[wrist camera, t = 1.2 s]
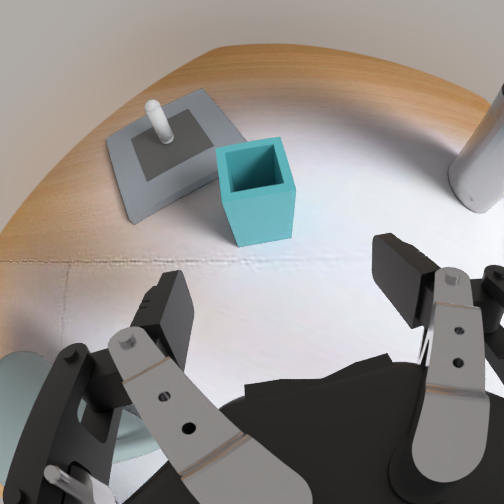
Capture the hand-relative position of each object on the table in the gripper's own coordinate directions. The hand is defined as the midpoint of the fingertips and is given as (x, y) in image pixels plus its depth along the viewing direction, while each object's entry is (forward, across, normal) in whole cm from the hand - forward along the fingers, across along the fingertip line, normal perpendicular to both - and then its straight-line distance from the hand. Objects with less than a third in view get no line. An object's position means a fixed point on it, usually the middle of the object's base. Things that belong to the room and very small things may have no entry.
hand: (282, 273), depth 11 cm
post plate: (+31, +10, -6) cm, 33 cm away
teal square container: (+21, 0, +4) cm, 22 cm away
